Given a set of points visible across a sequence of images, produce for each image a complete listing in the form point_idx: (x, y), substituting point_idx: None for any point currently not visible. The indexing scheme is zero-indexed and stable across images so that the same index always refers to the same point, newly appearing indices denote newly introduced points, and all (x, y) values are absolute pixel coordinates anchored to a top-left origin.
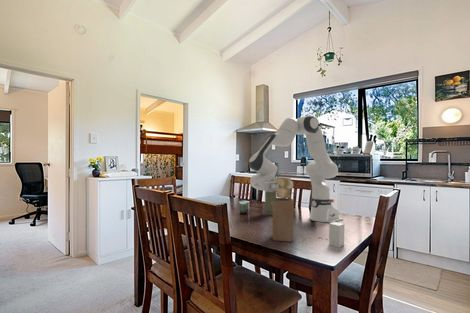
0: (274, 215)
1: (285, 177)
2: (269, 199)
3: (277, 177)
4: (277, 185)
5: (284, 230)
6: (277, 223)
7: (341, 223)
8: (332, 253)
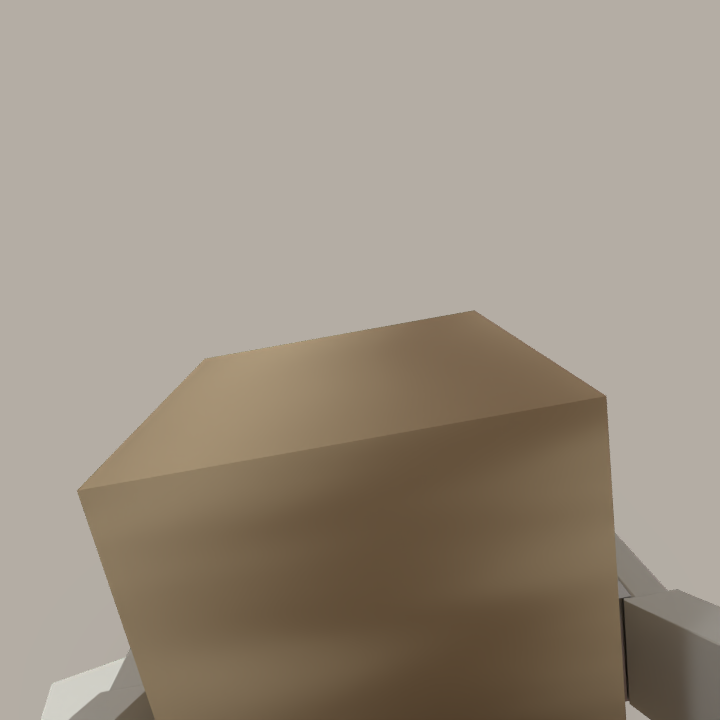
0: None
1: (257, 384)
2: None
3: (571, 377)
4: (622, 553)
5: None
6: None
7: (53, 697)
8: None
